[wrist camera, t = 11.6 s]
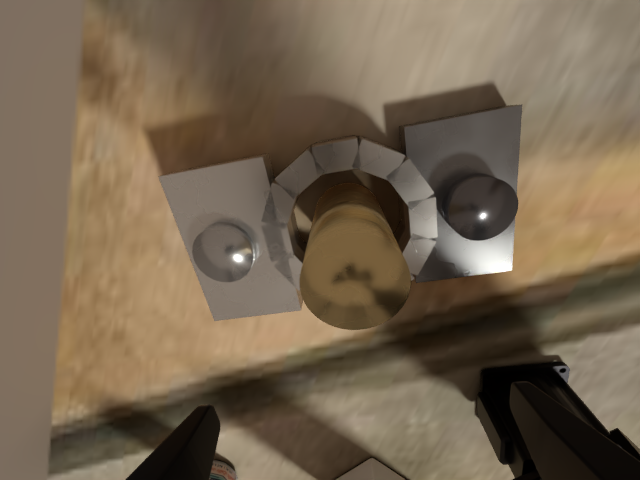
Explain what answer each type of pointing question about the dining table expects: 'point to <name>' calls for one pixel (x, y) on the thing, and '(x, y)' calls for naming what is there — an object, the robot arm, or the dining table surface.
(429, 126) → the lower link
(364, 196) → the pin
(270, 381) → the dining table surface
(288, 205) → the upper link
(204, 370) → the dining table surface
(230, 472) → the beer can
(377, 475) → the milk carton
